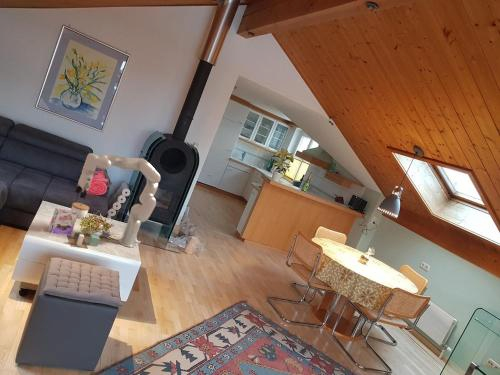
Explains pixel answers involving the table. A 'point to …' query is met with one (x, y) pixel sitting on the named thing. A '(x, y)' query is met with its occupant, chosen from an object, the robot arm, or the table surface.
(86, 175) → the robot arm
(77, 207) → the lidded bowl
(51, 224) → the candy box
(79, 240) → the cream post
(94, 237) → the mint green cube
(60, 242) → the table surface
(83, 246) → the walnut board
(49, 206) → the table surface
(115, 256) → the table surface
